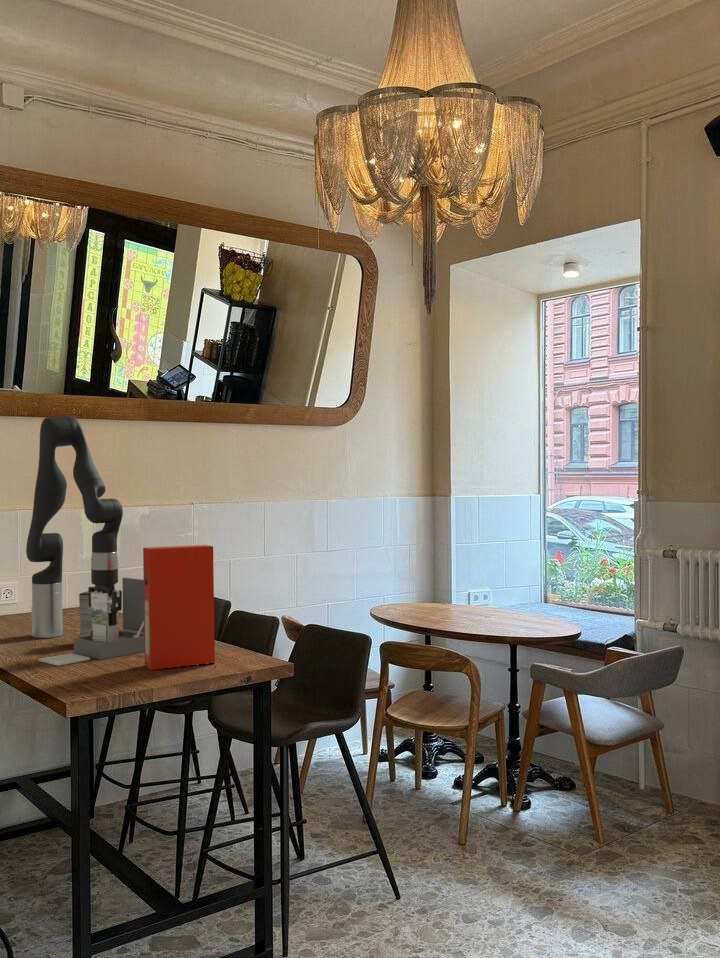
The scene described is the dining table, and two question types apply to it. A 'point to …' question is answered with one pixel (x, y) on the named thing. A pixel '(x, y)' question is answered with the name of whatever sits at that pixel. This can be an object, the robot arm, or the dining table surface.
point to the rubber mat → (64, 659)
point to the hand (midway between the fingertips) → (105, 623)
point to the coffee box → (85, 615)
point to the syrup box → (102, 619)
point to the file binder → (178, 606)
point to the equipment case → (132, 627)
